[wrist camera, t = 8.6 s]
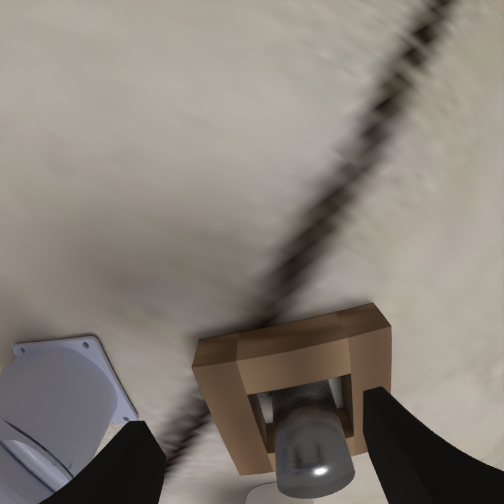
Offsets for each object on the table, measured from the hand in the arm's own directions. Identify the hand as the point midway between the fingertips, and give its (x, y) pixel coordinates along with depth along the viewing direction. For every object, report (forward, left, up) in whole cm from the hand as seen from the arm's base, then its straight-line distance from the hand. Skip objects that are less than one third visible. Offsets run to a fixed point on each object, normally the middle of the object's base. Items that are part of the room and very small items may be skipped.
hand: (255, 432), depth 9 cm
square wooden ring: (+2, -7, -10) cm, 12 cm away
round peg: (+2, -7, -10) cm, 12 cm away
